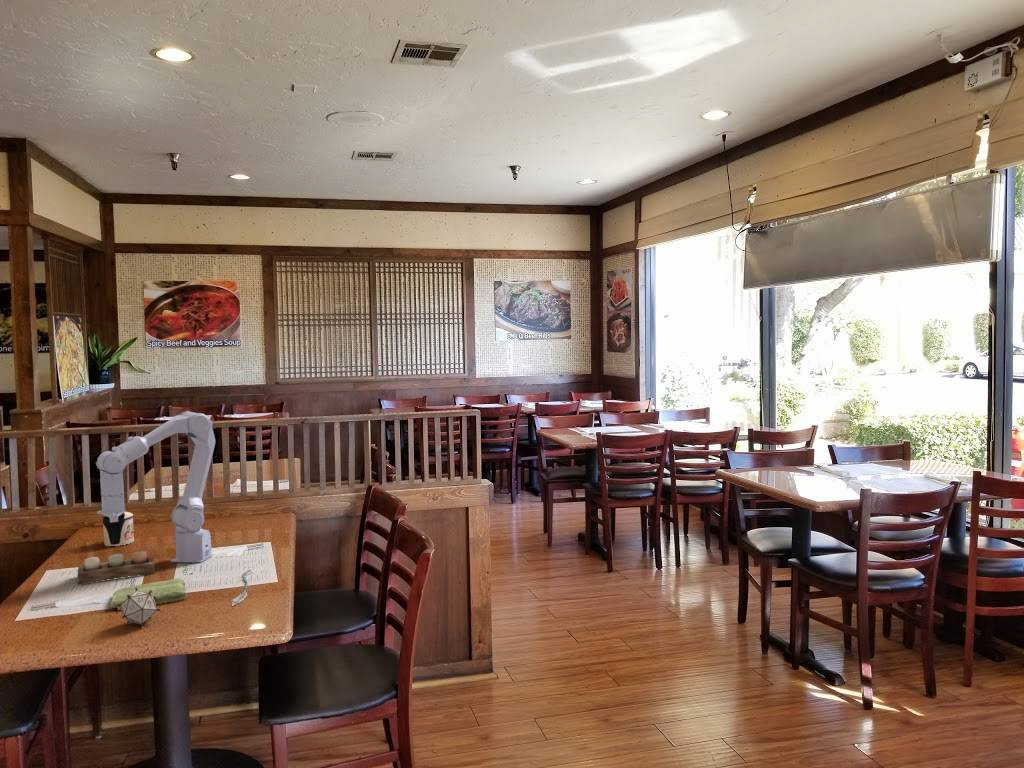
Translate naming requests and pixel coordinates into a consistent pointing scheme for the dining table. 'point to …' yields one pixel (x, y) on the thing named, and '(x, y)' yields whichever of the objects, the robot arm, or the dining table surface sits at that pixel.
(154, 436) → the robot arm
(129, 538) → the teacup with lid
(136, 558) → the terracotta button
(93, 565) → the cream button
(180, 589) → the washcloth
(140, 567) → the button panel
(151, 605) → the game die
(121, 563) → the sage button
